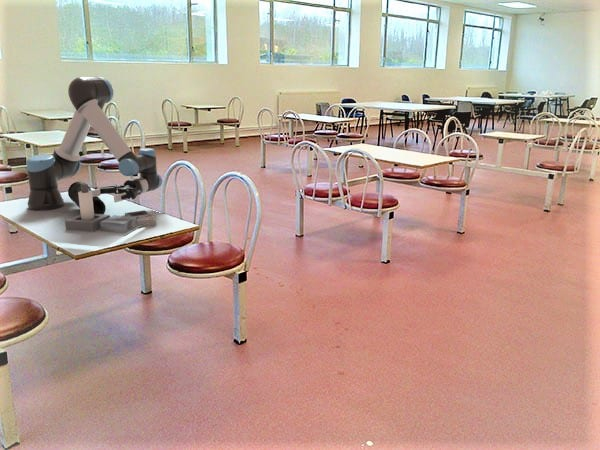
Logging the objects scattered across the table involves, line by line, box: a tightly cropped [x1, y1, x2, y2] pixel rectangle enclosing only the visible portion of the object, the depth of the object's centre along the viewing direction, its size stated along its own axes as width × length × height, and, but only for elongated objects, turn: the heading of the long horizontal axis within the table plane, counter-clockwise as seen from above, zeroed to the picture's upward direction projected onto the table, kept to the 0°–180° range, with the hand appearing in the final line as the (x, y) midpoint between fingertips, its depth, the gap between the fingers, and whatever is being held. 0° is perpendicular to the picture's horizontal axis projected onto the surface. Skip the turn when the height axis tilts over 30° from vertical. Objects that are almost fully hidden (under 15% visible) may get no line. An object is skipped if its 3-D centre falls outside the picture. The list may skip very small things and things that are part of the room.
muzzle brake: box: [67, 181, 107, 214], centre depth 229 cm, size 10×28×10 cm, turn 35°
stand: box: [100, 214, 138, 237], centre depth 206 cm, size 10×10×5 cm
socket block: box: [64, 213, 111, 233], centre depth 208 cm, size 12×12×5 cm
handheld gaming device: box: [124, 209, 157, 229], centre depth 219 cm, size 9×15×4 cm, turn 35°
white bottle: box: [78, 183, 95, 221], centre depth 206 cm, size 5×5×17 cm
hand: (101, 197), depth 213 cm, fingers open, 13 cm apart
